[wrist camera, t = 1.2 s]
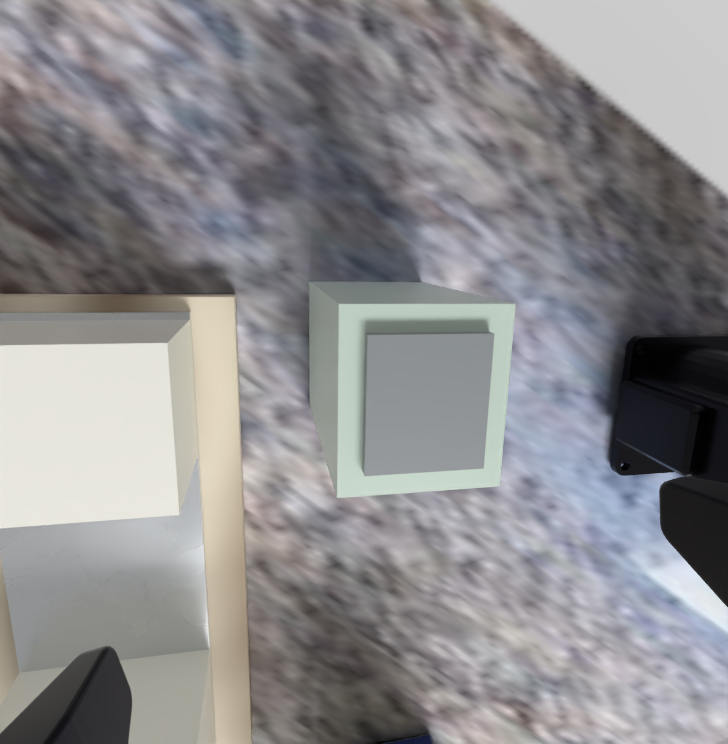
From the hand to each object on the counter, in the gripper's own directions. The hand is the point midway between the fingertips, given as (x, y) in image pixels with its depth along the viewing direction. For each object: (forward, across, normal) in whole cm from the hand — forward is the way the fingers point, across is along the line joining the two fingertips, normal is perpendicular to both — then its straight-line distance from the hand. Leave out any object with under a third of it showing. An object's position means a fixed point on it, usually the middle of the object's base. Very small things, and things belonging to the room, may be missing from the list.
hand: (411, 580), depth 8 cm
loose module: (+13, -2, -1) cm, 13 cm away
